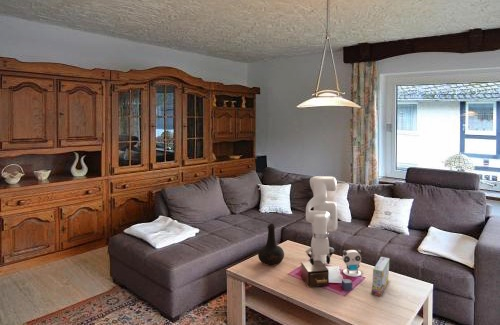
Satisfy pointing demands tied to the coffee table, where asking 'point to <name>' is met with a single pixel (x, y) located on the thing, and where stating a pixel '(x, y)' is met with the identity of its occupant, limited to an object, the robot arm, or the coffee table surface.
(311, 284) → the drawer
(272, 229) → the black vase
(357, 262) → the panda figurine
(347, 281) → the block
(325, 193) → the robot arm
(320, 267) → the cabinet
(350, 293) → the coffee table surface
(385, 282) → the snack box
